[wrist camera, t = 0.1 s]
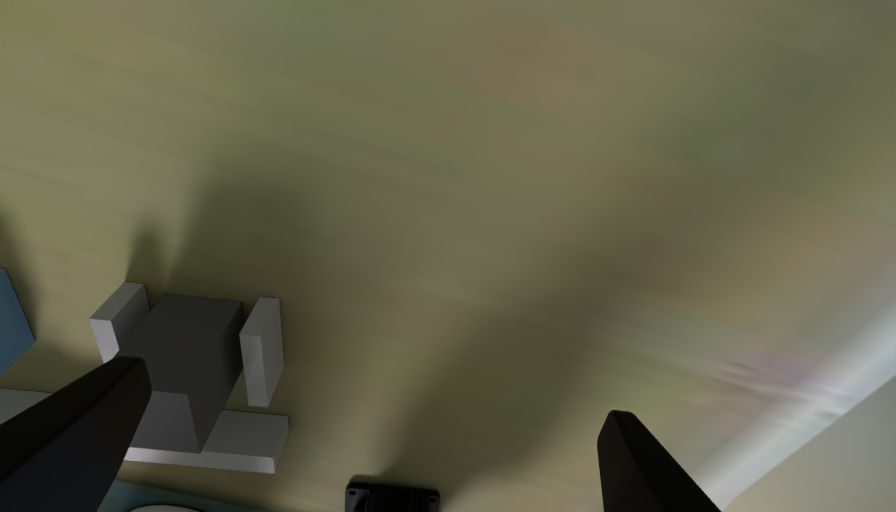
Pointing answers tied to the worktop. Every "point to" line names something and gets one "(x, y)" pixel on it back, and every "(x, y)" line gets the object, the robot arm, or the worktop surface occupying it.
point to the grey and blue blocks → (235, 433)
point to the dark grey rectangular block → (186, 368)
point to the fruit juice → (162, 509)
